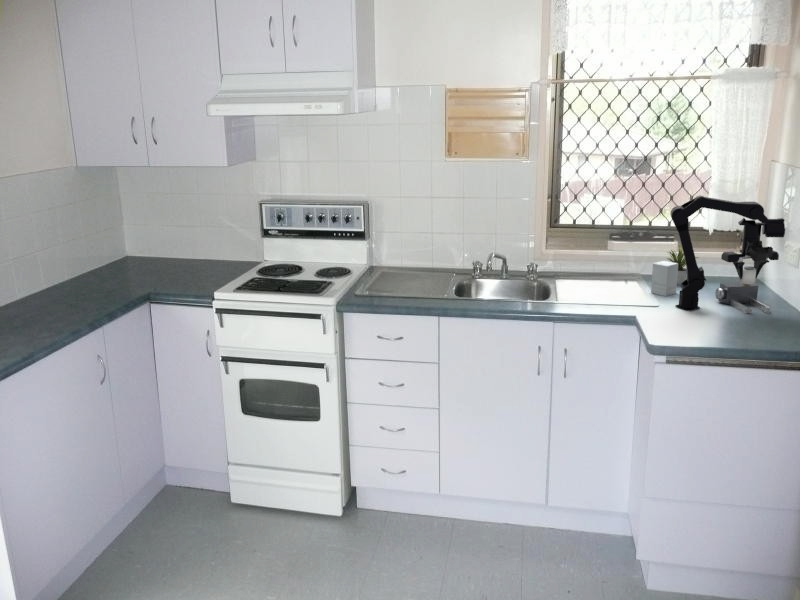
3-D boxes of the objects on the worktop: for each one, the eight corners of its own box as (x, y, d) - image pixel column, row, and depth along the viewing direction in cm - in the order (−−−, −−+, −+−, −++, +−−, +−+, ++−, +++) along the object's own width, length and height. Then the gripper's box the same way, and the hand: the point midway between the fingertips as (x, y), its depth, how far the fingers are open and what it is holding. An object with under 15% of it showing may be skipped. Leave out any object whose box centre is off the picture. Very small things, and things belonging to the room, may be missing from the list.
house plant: (677, 289, 297) (680, 251, 292) (652, 282, 308) (654, 245, 304) (701, 285, 303) (705, 247, 298) (675, 278, 315) (678, 241, 310)
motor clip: (737, 314, 263) (739, 292, 261) (713, 300, 281) (715, 280, 279) (774, 312, 264) (777, 291, 261) (748, 298, 282) (750, 278, 279)
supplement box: (676, 293, 292) (679, 263, 288) (665, 296, 288) (667, 266, 284) (661, 289, 298) (663, 260, 294) (650, 292, 294) (652, 262, 290)
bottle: (737, 282, 265) (738, 266, 264) (746, 280, 267) (748, 264, 266) (748, 285, 261) (749, 269, 259) (758, 283, 263) (759, 267, 261)
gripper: (737, 242, 251) (733, 285, 256) (789, 240, 252) (784, 282, 256) (722, 236, 262) (719, 278, 266) (772, 234, 263) (768, 275, 267)
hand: (747, 278), depth 264 cm, fingers closed on bottle, 5 cm apart
